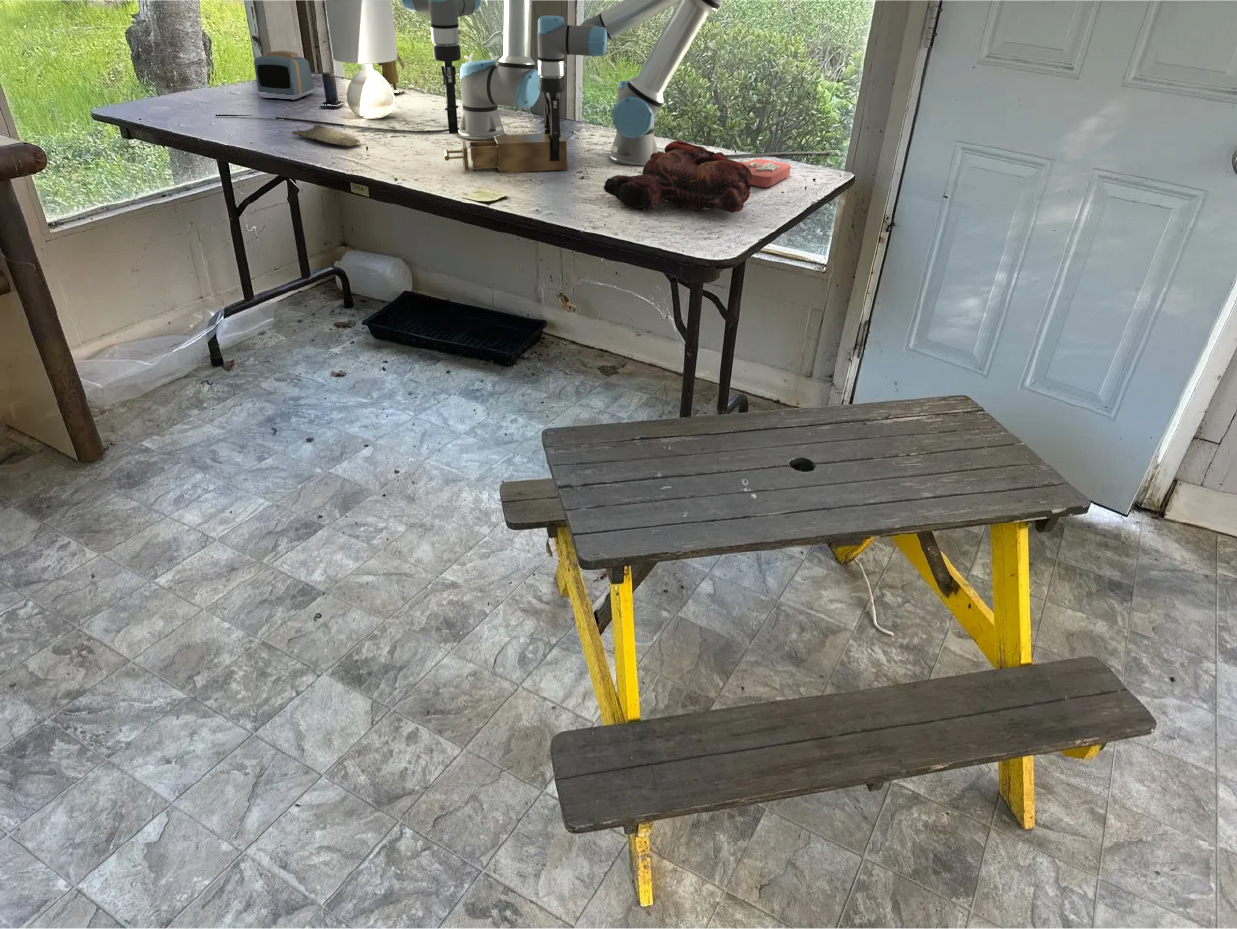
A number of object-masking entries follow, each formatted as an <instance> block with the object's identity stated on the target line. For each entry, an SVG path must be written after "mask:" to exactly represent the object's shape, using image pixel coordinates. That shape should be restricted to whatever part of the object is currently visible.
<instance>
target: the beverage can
mask: <svg viewBox="0 0 1237 929" xmlns="http://www.w3.org/2000/svg"><path fill="white" fill-rule="evenodd" d="M321 77H322V85H323V91H324V97H325V101H323V102H322V103H321V104H324V105H325V104H326V105H327V104H331V105H338V104H340V103H342V102H344V104H342V105H339V106H337V107H333V106H319V108H321V109H322V108H326V107H327V108H328V109H333V108H334V109H335V110H337V109H338V108H341V107H342V106H344V105H345V101H342V100H339V97H338V95H339V94H338V88H337V82H336V74H334V72H333V71H323V72H322V74H321Z"/></svg>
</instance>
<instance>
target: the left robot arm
mask: <svg viewBox="0 0 1237 929" xmlns="http://www.w3.org/2000/svg"><path fill="white" fill-rule="evenodd" d="M400 2H401V5H402V8H404V9H405V10H406V11H408V12H415V13H425V14H426V13H427V14H429V18H430V20H429V21H430V34H431V35H430V36H431V42H432V43H433V45H432V55H433V56H432V57H433V59H434V60H435V61H437V62H443V65H441V66H440V71H441V76H442V82H443V85H444V91H445V104H446V105H445V106H446V107H444V111H445V112H446V115H447V124H448V125H447V128H444V129H435V130H414V129H413V130H411V129H397V128H395V129H394V128H385V127H384V128H382V127H374V126H373V127H371V126H364V125H363V126H362V125H353V124H343V123H335V122H328V121H327V122H326V121H321V120H318V121H317V120H309V119H301V118H291V117H279V116H274V117H275V118H276V119H275V120H278V119H284V120H283V121H290V120H292V121H291V122H300V123H309V124H317V125H326V126H327V125H328V126H336V127H344V128H352V129H362V130H369V131H381V132H395V133H397V132H398V133H409V134H432V133H433V134H435V133H447V132H448V135H455V134H457V135H458V136H459V137H460V138H462V139H465V140H471V141H495V138H494V136H501V135H505V129H504V126H503V122H502V119H501V117H500V114H499V108H498V106H505V107H511V108H517V109H521V108H522V109H531V108H532V107H534V106H535V104H536V102H537V101H538V99H539V97H540V94H541V91H540V90H539V83H538V78H539V77H540V75H539V74H538V69H536V67H535V66H536V63H535V61H534V60H533V59H532V56H531V49H532V48H531V47H532V46H531V44H532V15H533V14H532V12H533V10H532V7H533V0H503V55H502V56H501V57H500V59H499V58H498V65H496V63H497V61H496V60H495V61H494V60H491V59H478V60H473V61H472V62H469V61H466V62H464V63H463V64H461V65H460V68H459V80H460V91H461V105H462V113H461V118H460V121H459V122H458V111H457V109H459V105H458V104H457V98H456V97H457V96H456V85H457V80H456V79H457V78H456V75H457V69H456V66H455V65H453V62H458V61H460V60H461V59H462V54H461V52H462V51H461V46H460V44H459V43H460V35H462V31H461V30H459V27H460V26H459V18H460V17H465V16H471V15H472V14H474V13H477V11H478V10H479V9H480V6H481V0H400ZM218 114H219V113H218ZM216 116H252V114H251V115H247V114H223V113H222V115H221V114H219V115H217V113H216V114H215V117H216Z"/></svg>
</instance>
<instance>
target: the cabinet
mask: <svg viewBox="0 0 1237 929" xmlns="http://www.w3.org/2000/svg"><path fill="white" fill-rule="evenodd" d="M560 134H561V137H560V138H559V161H550V139H548V136H550V135H551V134H550V133H549V134H545V133H532V134H531V133H529V134H526V133H525V134H506V135H505V134H504V135H501V136H494V138H495V139H494V141H496V144H497V148H498V163H499V167H498V168H497V170H498V173H499V174H505V173H524V172H543V171H544V172H545V171H546V172H547V171H564V170H566V171H567V170H568V152H567V151H568V148H567V147H568V146H567V145H568V144H567V140H566V138H565V137H564V135H563V134H562V133H561V132H560Z"/></svg>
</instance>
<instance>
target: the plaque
mask: <svg viewBox="0 0 1237 929" xmlns="http://www.w3.org/2000/svg"><path fill="white" fill-rule="evenodd" d="M739 162H740V163H742V164H744V165H745V166H746V167H747V168H749V169H750V171H751V173H752V178H751V180H750V186H751V185H752V186H755V187H762V188H769V187H772V186H773V185H775V184H777V183H779V182H780V181H782V180H784V179H786V178H788V177H789V176H790V175H791V168H792V165H791V164H789V163H786V162H781V161H775V160H769V159H763V158H754V159H752V160H749V161H739Z"/></svg>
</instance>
